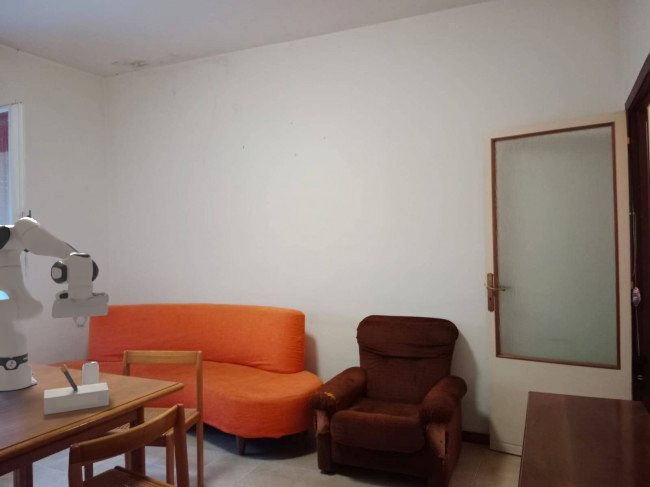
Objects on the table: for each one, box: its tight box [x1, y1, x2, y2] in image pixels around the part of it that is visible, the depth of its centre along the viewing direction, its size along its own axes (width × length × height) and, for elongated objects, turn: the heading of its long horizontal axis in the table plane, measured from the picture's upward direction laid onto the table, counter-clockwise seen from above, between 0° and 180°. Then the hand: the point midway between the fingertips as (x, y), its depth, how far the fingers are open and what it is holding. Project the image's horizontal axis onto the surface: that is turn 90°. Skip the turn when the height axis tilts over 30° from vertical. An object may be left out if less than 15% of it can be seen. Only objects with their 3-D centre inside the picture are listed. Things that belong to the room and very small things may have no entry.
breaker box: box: [43, 382, 110, 416], centre depth 192 cm, size 12×22×6 cm, turn 119°
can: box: [81, 360, 100, 385], centre depth 212 cm, size 6×6×12 cm
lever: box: [59, 363, 78, 391], centre depth 191 cm, size 4×2×11 cm, turn 29°
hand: (80, 327), depth 197 cm, fingers closed
